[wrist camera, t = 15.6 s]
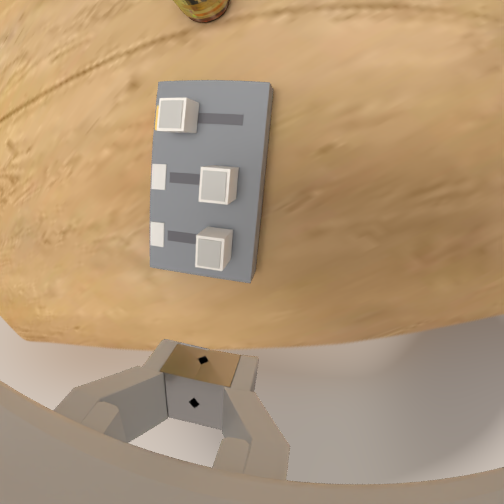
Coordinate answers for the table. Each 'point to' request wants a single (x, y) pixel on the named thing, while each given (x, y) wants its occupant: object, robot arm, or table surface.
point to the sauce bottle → (202, 9)
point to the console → (205, 154)
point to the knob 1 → (177, 115)
